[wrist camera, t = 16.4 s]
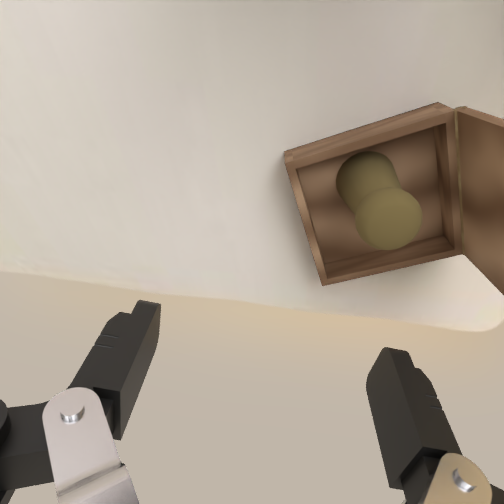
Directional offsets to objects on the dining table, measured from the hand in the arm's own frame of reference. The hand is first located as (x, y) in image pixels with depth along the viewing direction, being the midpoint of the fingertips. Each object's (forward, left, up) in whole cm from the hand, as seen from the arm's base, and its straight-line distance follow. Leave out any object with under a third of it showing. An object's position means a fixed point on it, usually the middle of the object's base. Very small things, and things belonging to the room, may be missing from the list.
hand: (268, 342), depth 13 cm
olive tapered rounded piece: (+7, +8, -28) cm, 29 cm away
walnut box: (+9, +8, -28) cm, 31 cm away
